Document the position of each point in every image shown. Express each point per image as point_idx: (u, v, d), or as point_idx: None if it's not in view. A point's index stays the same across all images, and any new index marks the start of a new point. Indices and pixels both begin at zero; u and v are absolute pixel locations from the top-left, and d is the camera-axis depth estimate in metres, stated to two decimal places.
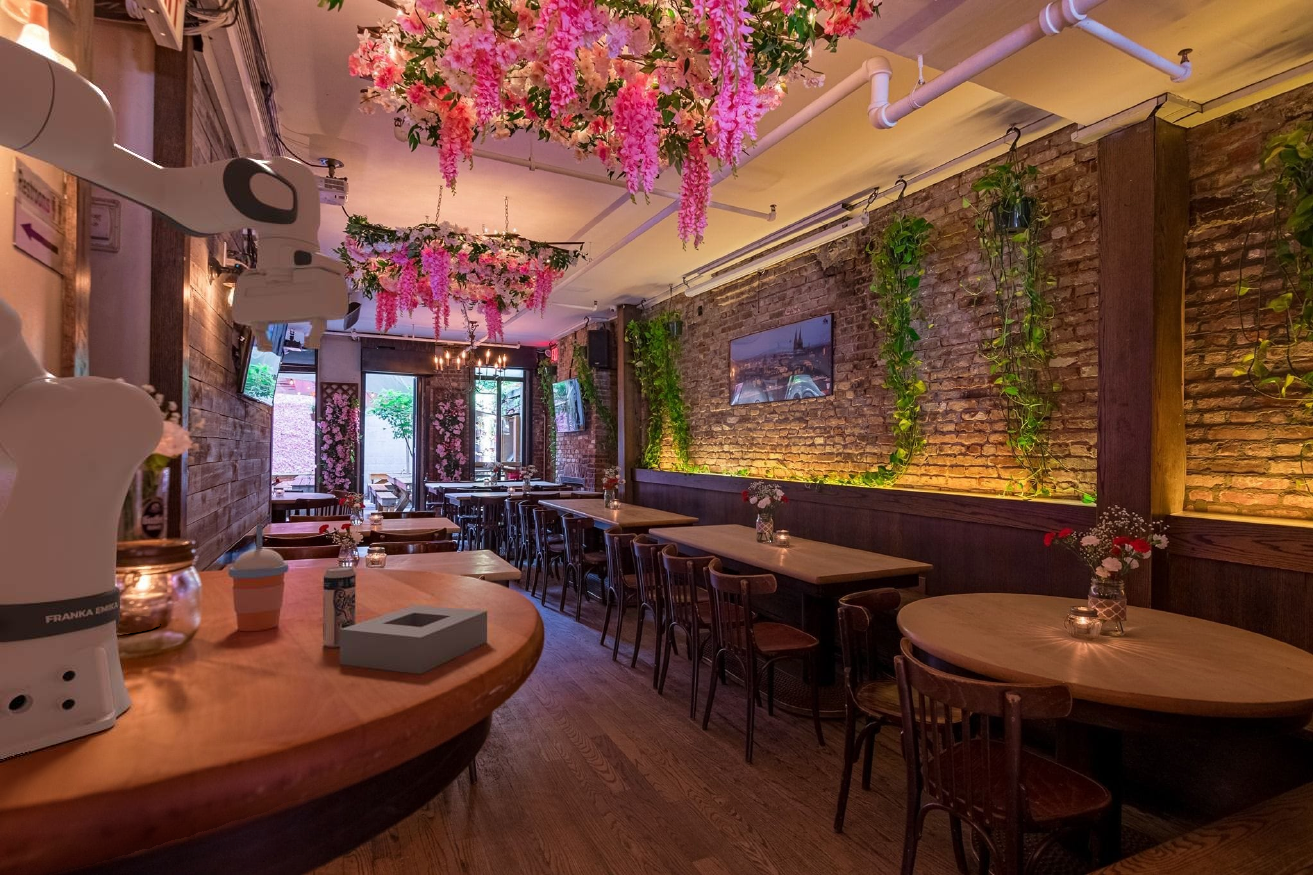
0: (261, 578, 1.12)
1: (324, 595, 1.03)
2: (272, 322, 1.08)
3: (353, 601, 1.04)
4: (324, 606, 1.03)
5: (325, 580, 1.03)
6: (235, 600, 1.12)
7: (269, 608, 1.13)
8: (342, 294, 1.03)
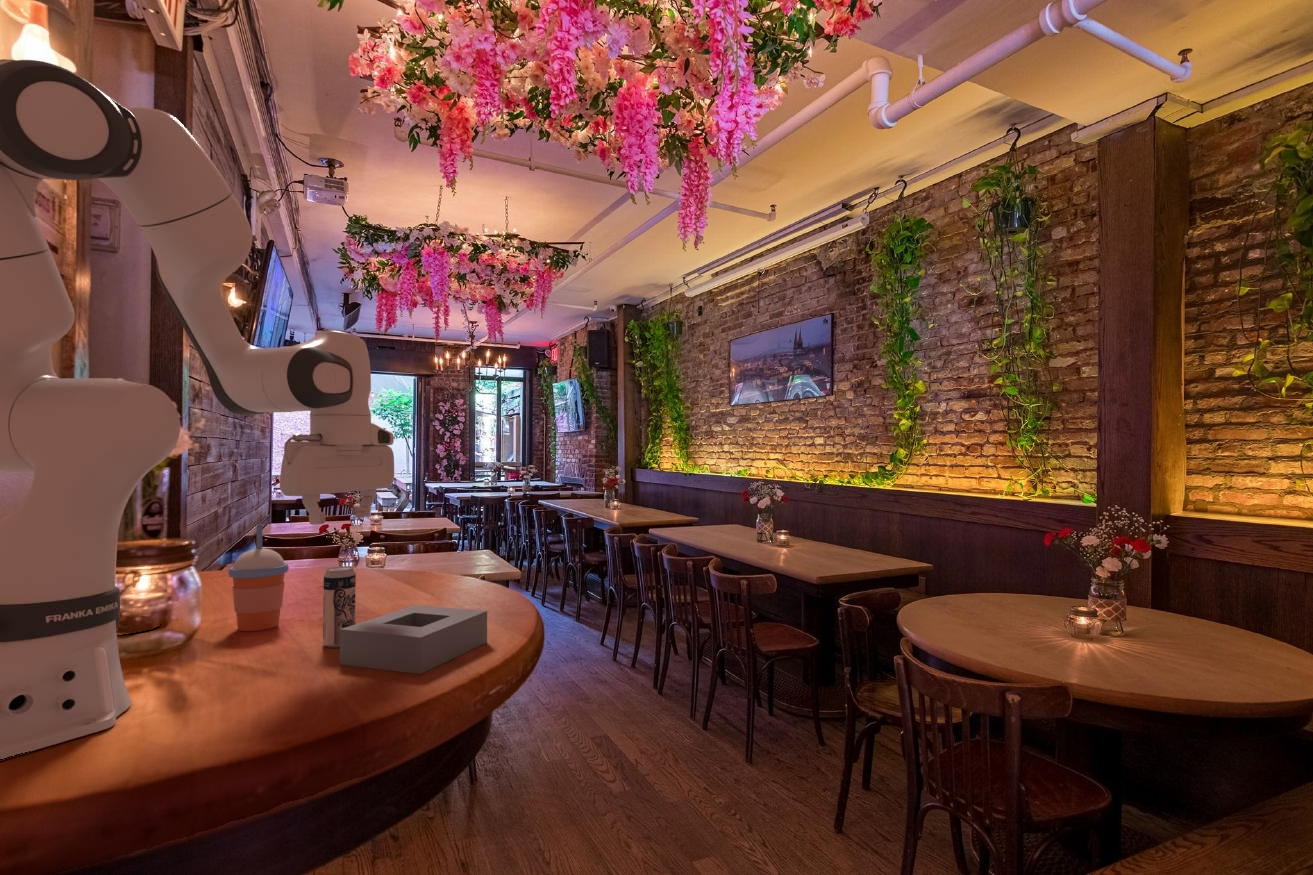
0: (261, 578, 1.12)
1: (324, 595, 1.03)
2: None
3: (353, 601, 1.04)
4: (324, 606, 1.03)
5: (325, 580, 1.03)
6: (235, 600, 1.12)
7: (269, 608, 1.13)
8: None
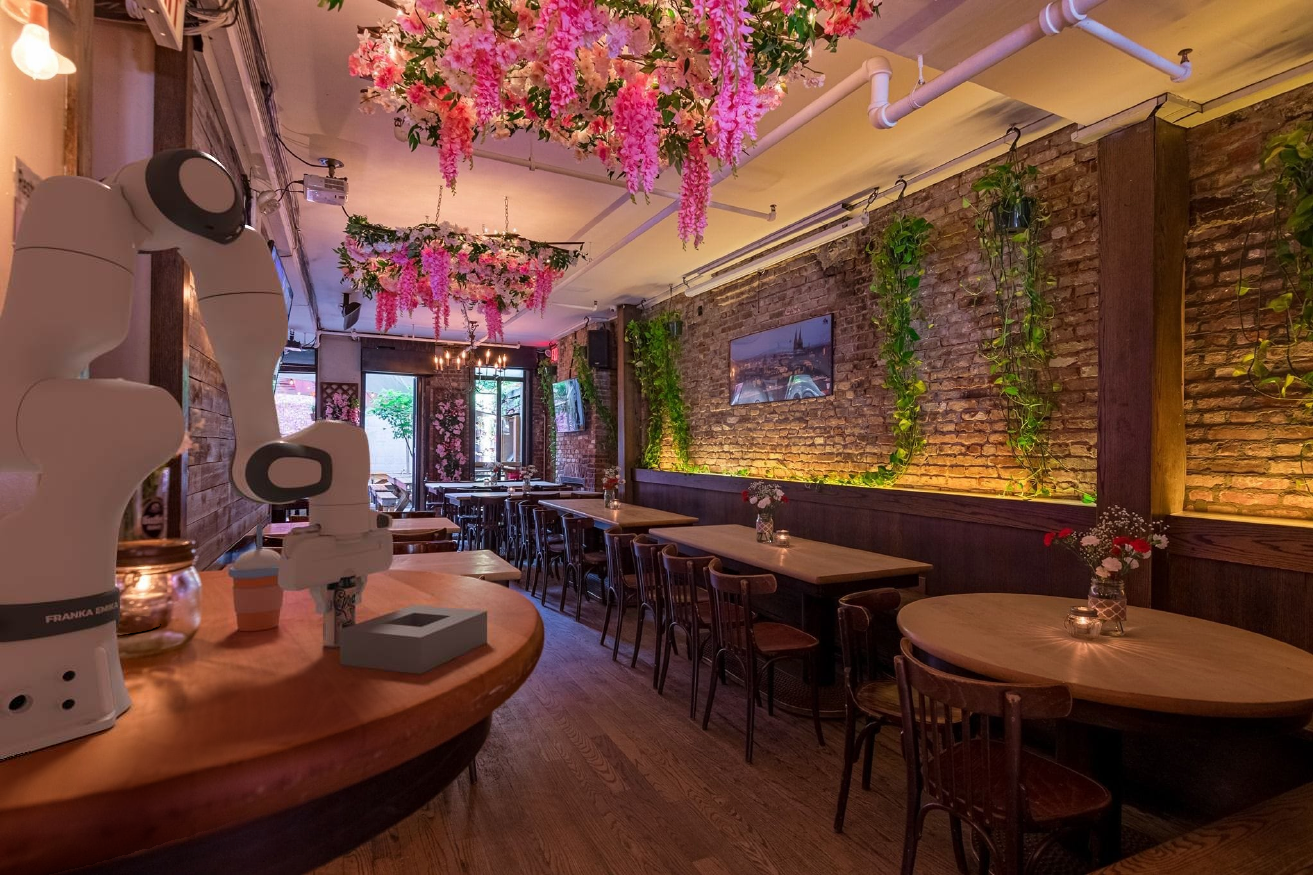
0: (261, 578, 1.12)
1: None
2: None
3: (353, 601, 1.04)
4: None
5: None
6: (235, 600, 1.12)
7: (269, 608, 1.13)
8: None
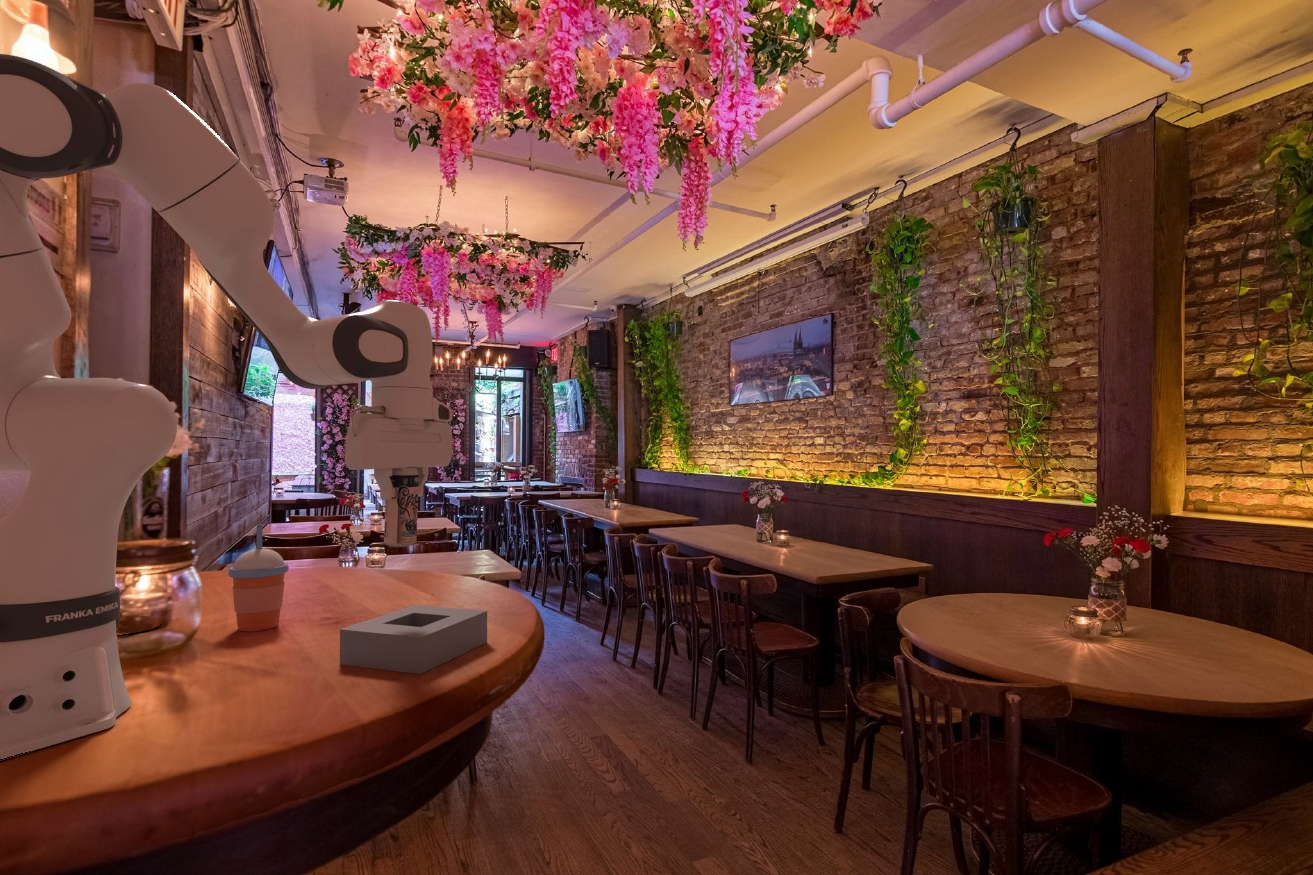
0: (261, 578, 1.12)
1: None
2: None
3: (416, 501, 1.01)
4: (387, 504, 0.99)
5: (389, 477, 0.99)
6: (235, 600, 1.12)
7: (269, 608, 1.13)
8: None
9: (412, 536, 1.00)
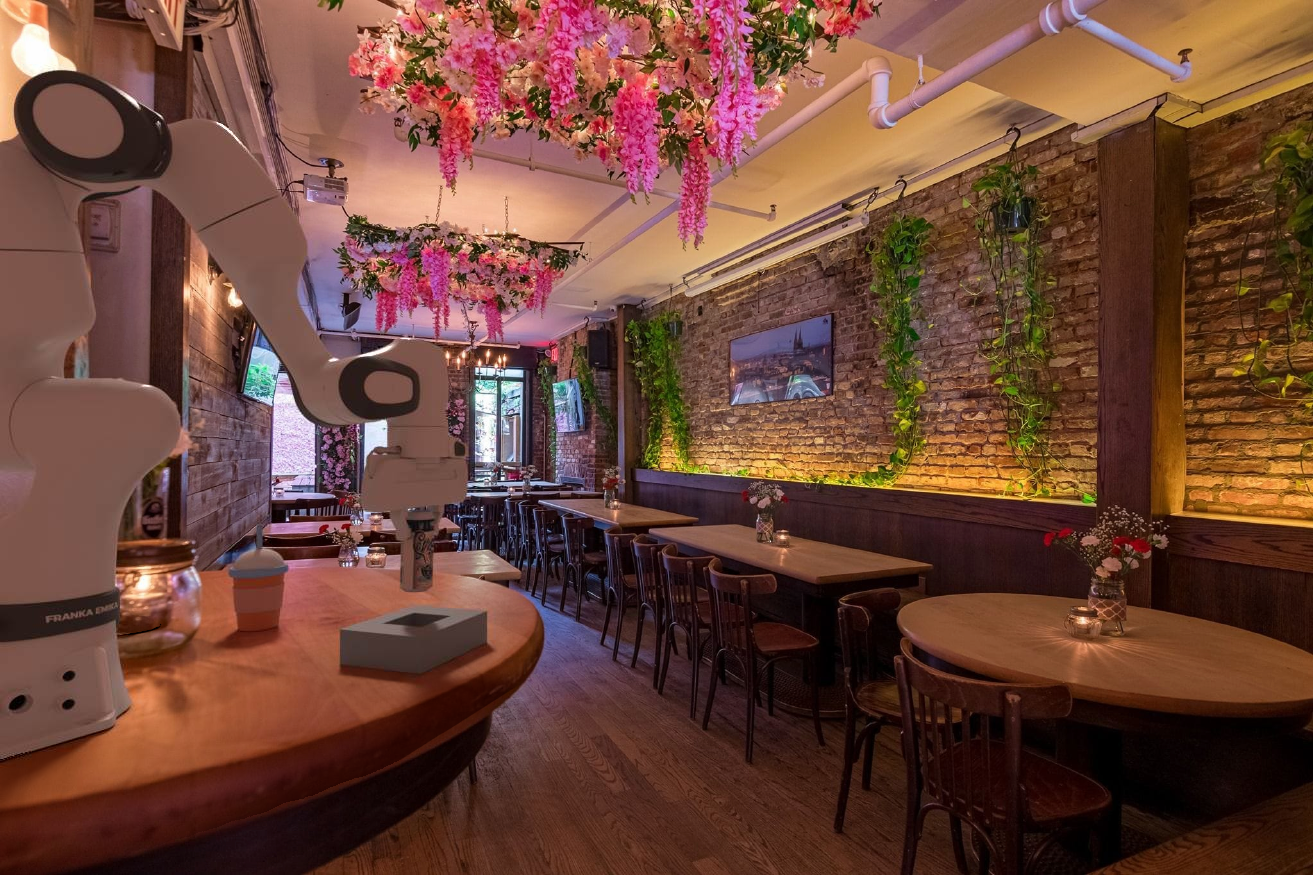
0: (261, 578, 1.12)
1: None
2: None
3: (432, 545, 1.00)
4: (403, 549, 0.98)
5: None
6: (235, 600, 1.12)
7: (269, 608, 1.13)
8: None
9: (427, 581, 0.99)
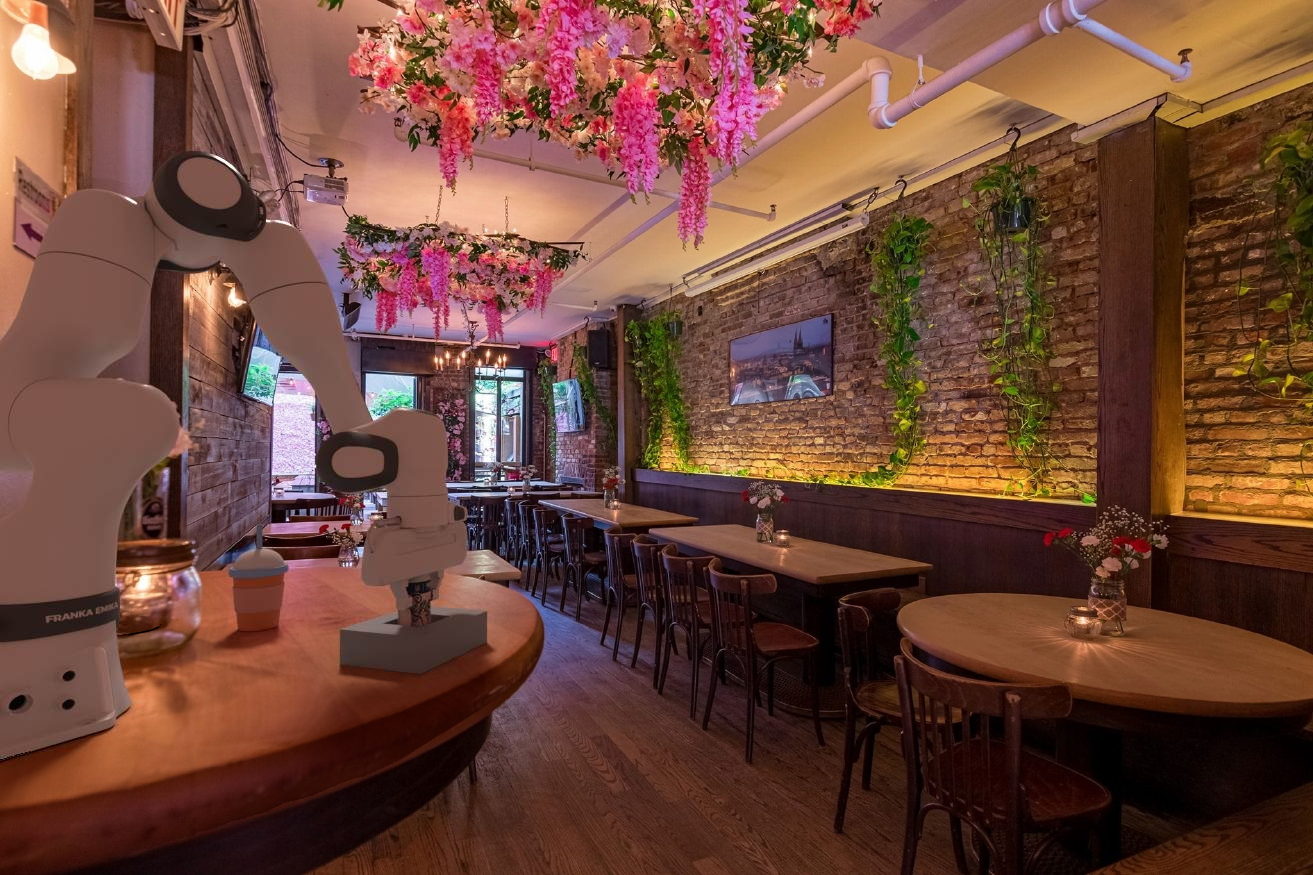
0: (261, 578, 1.12)
1: None
2: None
3: (429, 606, 1.00)
4: (400, 612, 0.98)
5: None
6: (235, 600, 1.12)
7: (269, 608, 1.13)
8: None
9: None
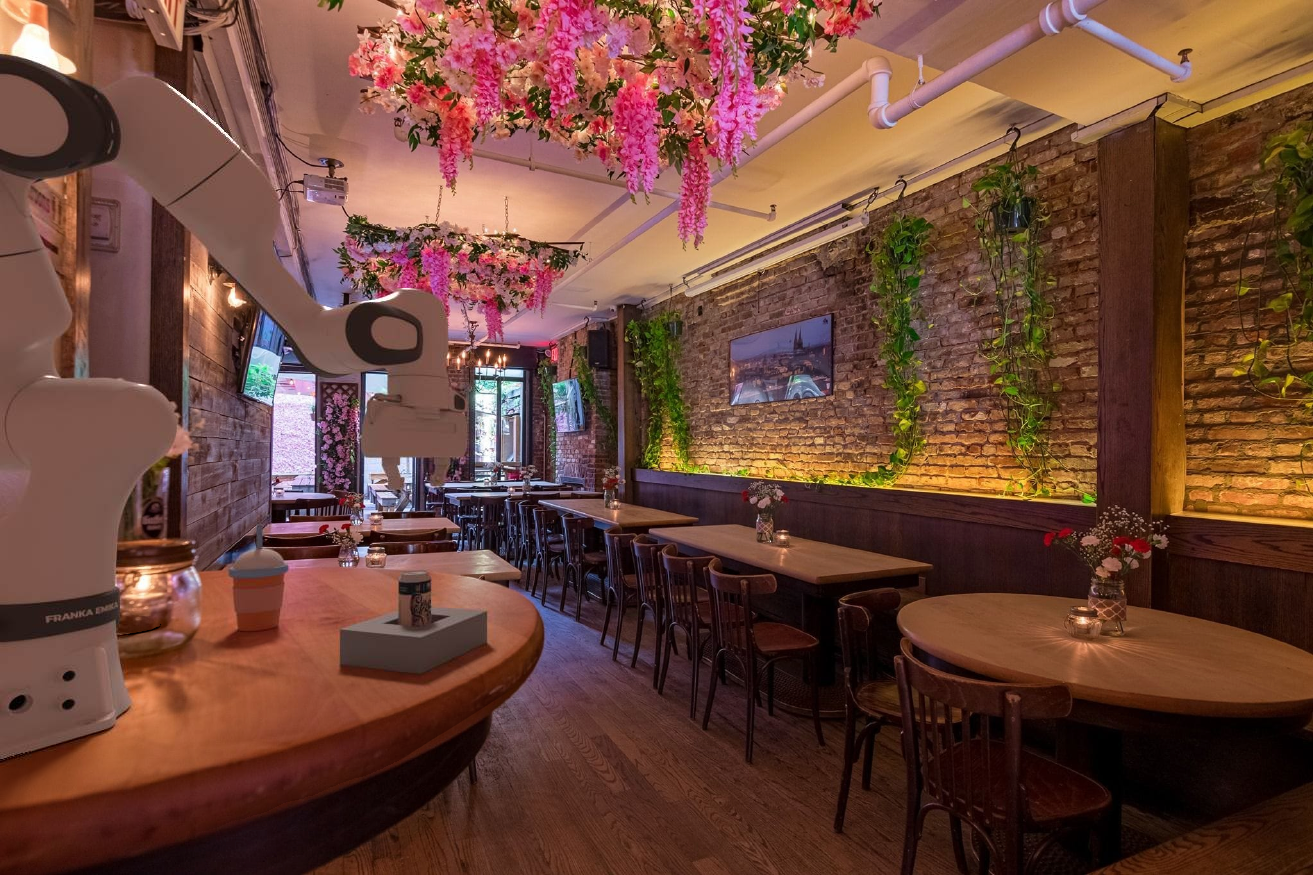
0: (261, 578, 1.12)
1: (400, 600, 0.99)
2: None
3: (429, 606, 1.00)
4: (400, 612, 0.99)
5: (401, 585, 0.99)
6: (235, 600, 1.12)
7: (269, 608, 1.13)
8: None
9: None
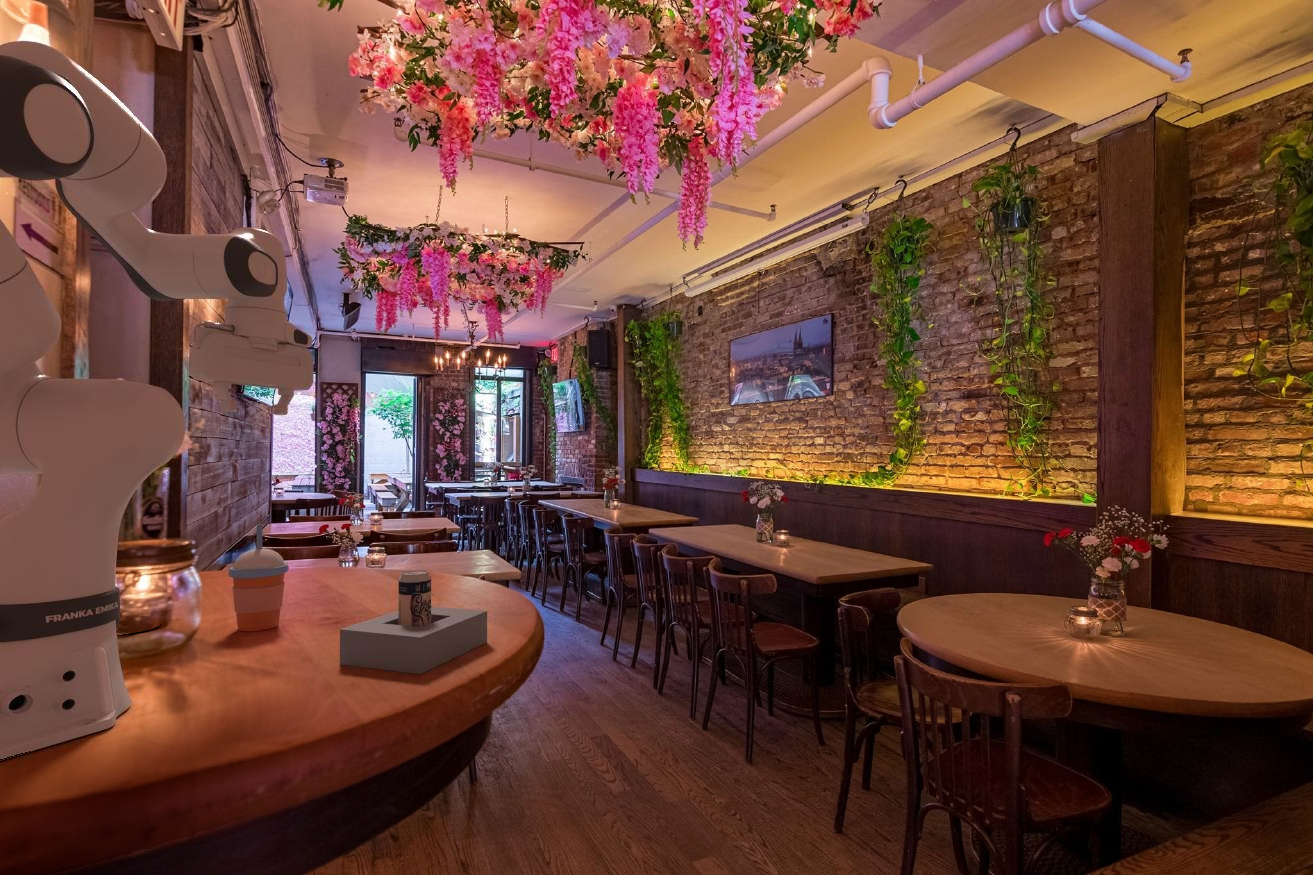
0: (261, 578, 1.12)
1: (400, 600, 0.99)
2: None
3: (429, 606, 1.00)
4: (400, 612, 0.99)
5: (401, 585, 0.99)
6: (235, 600, 1.12)
7: (269, 608, 1.13)
8: None
9: None
